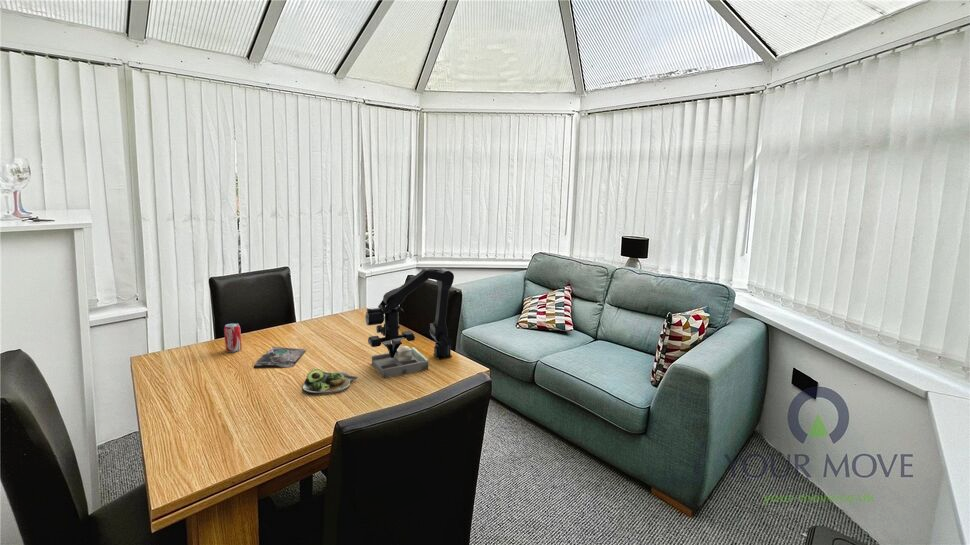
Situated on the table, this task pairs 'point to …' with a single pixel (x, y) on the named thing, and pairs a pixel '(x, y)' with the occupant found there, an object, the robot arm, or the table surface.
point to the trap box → (399, 364)
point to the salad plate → (326, 382)
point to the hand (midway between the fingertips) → (392, 357)
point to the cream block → (403, 353)
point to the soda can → (232, 337)
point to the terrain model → (280, 358)
